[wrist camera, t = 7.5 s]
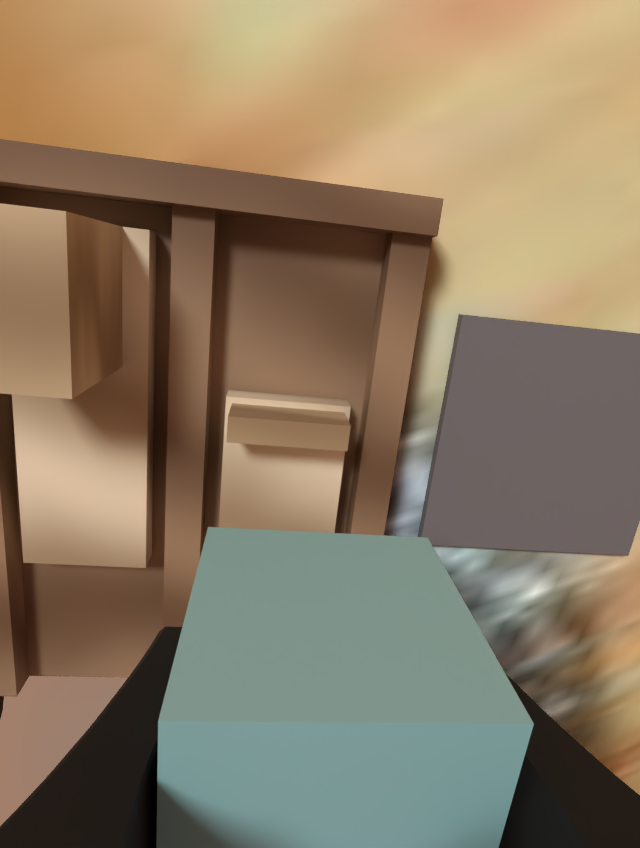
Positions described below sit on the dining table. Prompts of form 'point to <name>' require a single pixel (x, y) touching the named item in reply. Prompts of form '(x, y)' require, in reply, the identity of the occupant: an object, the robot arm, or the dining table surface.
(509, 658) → the dining table surface
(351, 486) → the lane board
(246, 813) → the cube
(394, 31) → the dining table surface
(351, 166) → the dining table surface
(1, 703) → the kendama
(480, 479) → the felt pad
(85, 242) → the strip
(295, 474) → the strip
